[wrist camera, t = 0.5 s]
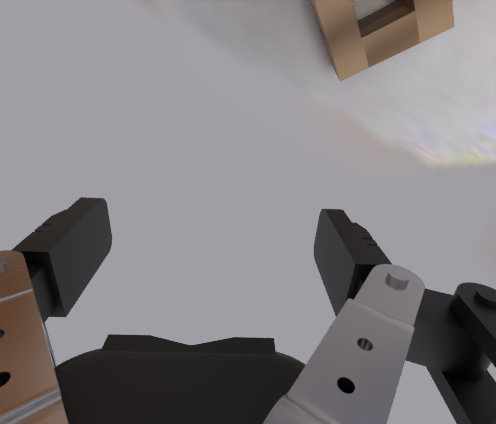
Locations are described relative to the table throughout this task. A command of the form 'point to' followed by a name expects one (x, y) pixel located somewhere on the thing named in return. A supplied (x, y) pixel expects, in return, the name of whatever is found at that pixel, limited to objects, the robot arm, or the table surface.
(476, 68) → the table surface
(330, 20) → the hole block
